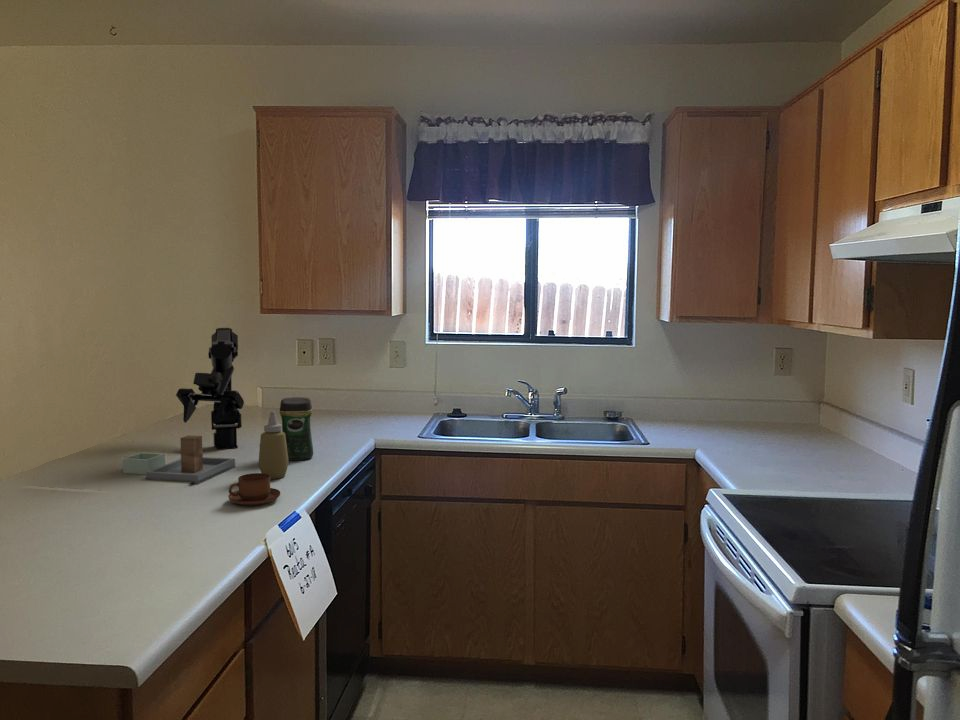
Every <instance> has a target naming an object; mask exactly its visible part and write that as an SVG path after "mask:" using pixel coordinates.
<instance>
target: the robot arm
mask: <svg viewBox="0 0 960 720" xmlns="http://www.w3.org/2000/svg"><path fill="white" fill-rule="evenodd" d="M210 338H211V340H210V341H211V346H209V347H208V355H207V356H208V359H209V360H211V366H212V369H211V371H210V373H208V372H195V373H194V378H193V382H192V384H193V385H196V386H197V387H198V391H200V392H201V393H197V392H195V390H193V388H185V387H181V388H178V390H177V391H176V394H175V396H176V397H177V399H178V400H179V401H180V403H181V404H182V405H183V416H182V417H183V422H184V423H187V422H188V421H189V420H190V418H191V417H192V415H193V414H194V413H195V411H196V409H197V407H196V406H197V405H198V404H199V401H200V402H201V401H202V402H211V403H213V410H211V412H210V415H211V430H212V431H214V430H215V432H213V434H212V435H213V437H212V438H213V447H214V448H215V449H216V450H223V449H224V450H225V449H237V448H238V447H239V446H238V442H237V441H238V440H237V439H238V438H237V437H238V436H237V435H238V434H237V433H238V432H237V431H238V430H239V429H240V428H242V422H243V421H242V414H241V413H240V410H242V409H243V407H244V405H245V401H244V398H243V397H242V395H241V393H240V392H239V390H232V389H233V388H232V385H233V384H232V379H233V378H232V375H233V373H234V372H235V367H234V365H233V363H234V362H235V361H234V360H235V359H237V357H238V356H239V336H238V334H237V333H235V331H234V332H233V328H231V327H217V328H215V332H214V333H212V335H211V337H210Z"/></svg>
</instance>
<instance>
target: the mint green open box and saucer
mask: <svg viewBox="0 0 960 720" xmlns="http://www.w3.org/2000/svg"><path fill="white" fill-rule="evenodd" d="M237 479H238V480H237V482H235V483H232V484H231V485H230V486H229V488H228V493H229V494H228V500H229V501H230V502H232V503H234V504H237V505H240V506H259V505H265V504H268V503H269V504H270V503H271V502H274V501H276V500H277V499H278V498H279V497H280V496H281V491H280V490H279V489H276V488H274V487H273V488H272V487H271V479H270V475H268V474H264V473H261V472H254V473H253V472H252V473H245V474H241V475H240V476H238V477H237ZM234 487H238V490H235V491H232V490H233V488H234Z"/></svg>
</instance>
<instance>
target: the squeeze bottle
mask: <svg viewBox="0 0 960 720" xmlns="http://www.w3.org/2000/svg"><path fill="white" fill-rule="evenodd" d="M259 442H260V443H259V451H258V452H259V453H258V454H259V455H258V464H257V465H258V466H257V467H259V471H260V473H264V474H268V475H270V480H276V479H281V478H283V477H284V478H285V476H286V473H287V471H288V467H289V464H290V463H289V461H290V460H288V452H287V444H286V436H285V433H284V432H282V423H278V419H277V415H276V411H273V410H271V411H270V413H269V417H268V423H265V424H264V425H263V432H262V433H261V434H260V441H259Z"/></svg>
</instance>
